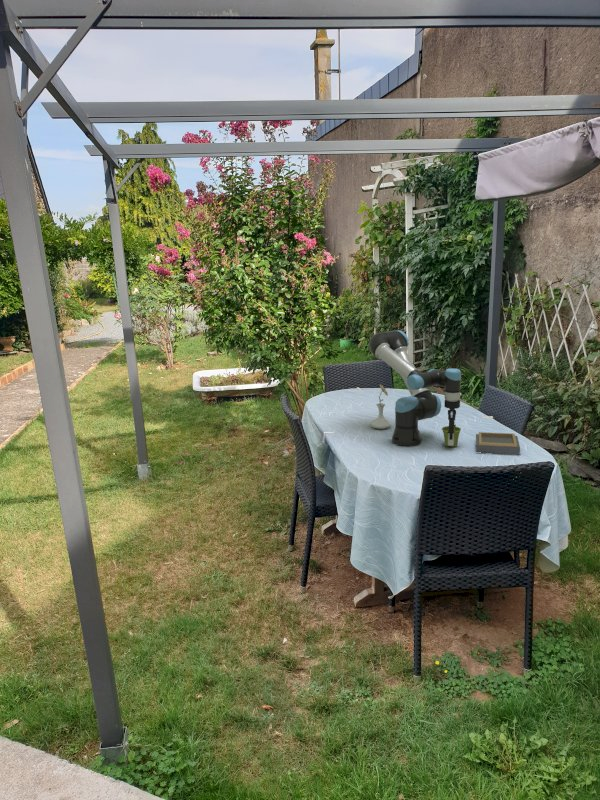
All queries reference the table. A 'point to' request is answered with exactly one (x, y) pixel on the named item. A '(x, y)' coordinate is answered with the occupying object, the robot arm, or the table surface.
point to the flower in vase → (381, 414)
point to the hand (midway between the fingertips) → (451, 442)
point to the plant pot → (456, 435)
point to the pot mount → (497, 443)
